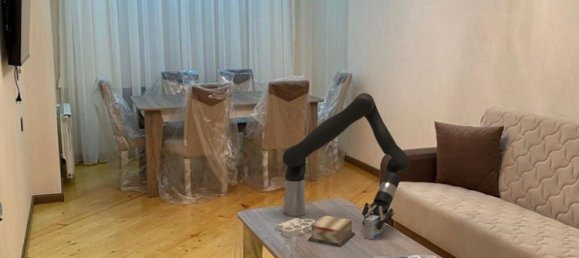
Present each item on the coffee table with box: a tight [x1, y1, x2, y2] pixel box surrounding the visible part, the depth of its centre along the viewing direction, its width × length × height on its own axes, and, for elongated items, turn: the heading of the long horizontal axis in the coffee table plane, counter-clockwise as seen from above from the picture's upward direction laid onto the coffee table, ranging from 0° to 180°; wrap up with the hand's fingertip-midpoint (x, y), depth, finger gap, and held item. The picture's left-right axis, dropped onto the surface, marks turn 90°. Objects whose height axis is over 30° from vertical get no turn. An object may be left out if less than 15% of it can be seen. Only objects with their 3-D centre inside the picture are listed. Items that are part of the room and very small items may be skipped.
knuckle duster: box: [275, 217, 316, 238], centre depth 262 cm, size 3×18×15 cm
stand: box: [308, 215, 356, 248], centre depth 252 cm, size 15×15×7 cm
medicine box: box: [363, 214, 383, 240], centre depth 253 cm, size 8×4×9 cm, turn 143°
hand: (371, 227), depth 252 cm, fingers open, 6 cm apart
